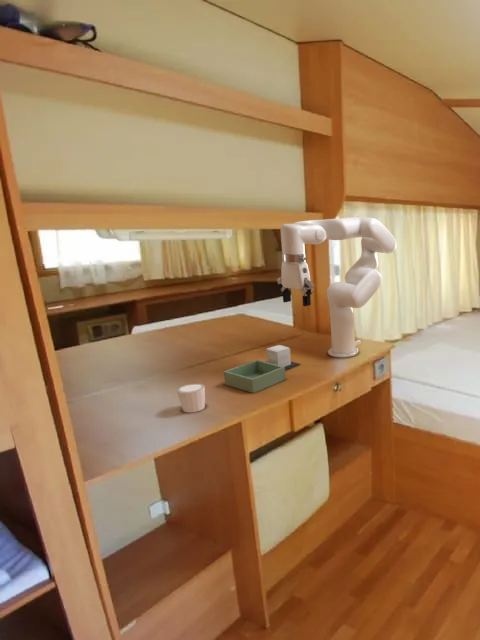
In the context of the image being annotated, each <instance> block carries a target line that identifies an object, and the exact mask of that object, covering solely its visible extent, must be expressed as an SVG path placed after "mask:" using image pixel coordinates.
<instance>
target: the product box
mask: <svg viewBox="0 0 480 640" xmlns="http://www.w3.org/2000/svg"><path fill="white" fill-rule="evenodd" d="M265 350H266V360H267V361H266V362H267V363H271V364H275V365H279V366H283V367H285V366H288V365H291V362H292V361H291V358H292V357H291V348H290V347H288V346H285V345H281V344H277V345H273V346H271V347H267V348H266V349H265Z"/></svg>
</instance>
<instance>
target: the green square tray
mask: <svg viewBox="0 0 480 640" xmlns="http://www.w3.org/2000/svg"><path fill="white" fill-rule="evenodd" d="M286 380H287V378H286V370H285V367H283V366H279V365H275V364H271V363H268V362H267V361H263V360H261V359H255V360H253V361H250V362H248V363H244V364H242V365H238V366H236V367H233V368H230V369H227V370H224V371H223V381H224V385H226V386H229V387H232V388H235V389H238V390H243V391H245V392H249V393H252V394H255V393H257V392H259V391H262V390H265V389H267V388H269V387H271V386H273V385H276V384H279V383H281V382H284V381H286Z"/></svg>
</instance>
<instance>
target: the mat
mask: <svg viewBox="0 0 480 640" xmlns="http://www.w3.org/2000/svg"><path fill="white" fill-rule="evenodd" d="M297 366H300V363H297V362H294V361H291V365H288V366H285V371H288V370H290V369H292V368H295V367H297Z"/></svg>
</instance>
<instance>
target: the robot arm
mask: <svg viewBox="0 0 480 640" xmlns="http://www.w3.org/2000/svg"><path fill="white" fill-rule="evenodd" d="M279 228H280V242H281V255H282V256H281V257H282V261H281V274H280V276H279V277H278V278H276V282H277V284H278V287H279V289H280V292H281V293H282V302H283V303H290V302H291V301H292V293H291V290H296V291H300V292H301V293H302V306H303V307H309V306H311V305H312V300H311V296H312V295H313V293H314V290H315V287H316V285H315V284H314V283H313V282H312V280H311V275H310V269H309V265H308V262H306V261H307V257H306V250H305V248H306V247H305V245H320V244H322V243H324V242H325V240H329V241H345V240H351V239H356V238H361V239H360V248H361V253H360V254H361V255H360V256H359V258H358V260H357V261H355V263H354V264H353V265H352V266H351V267H350V268H349V269H348V271H347V272H346V273H345V275H344V281H345V282H342V281H335V282H332V283H331V284H329V286H328V288H327V290H326V297H327V302H328V306H329V313H330V336H331V338H330V341H331V348H329V349H328V350H327V353H328V355H329V356H331V357H334V358H350V357H351V358H352V357H354V356H357V355H358V354H359V348H358V347H357V346H358V345H360V344H361V343H362V341H361V339H357V340H355V314H354V310H353V309H361V308H363V307H364V306H366V304H367V303H368V302H369V301H370V299H372V297H373V296H374V295H375V294H376V293H377V291H378V290H379V289H380V287H381V284H382V275H381V272H379V271H378V270H377V268H378V266H379V260H378V253H379V254H386V255H388V254H392V253H394V252H395V251H396V249H397V240H396V238H395V236H394V235H393V234H392V233H391V231H389V230H388V228H387V227H386V226H385V225H384V224H383V223H382V222H381V221H380V220H379V219H378V218H375V217H368V216H349V217H339V218H327V219H326V218H325V219H309V220H300V221H295V222H293V223H282V224H281V225H280V227H279ZM290 289H291V290H290Z"/></svg>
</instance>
